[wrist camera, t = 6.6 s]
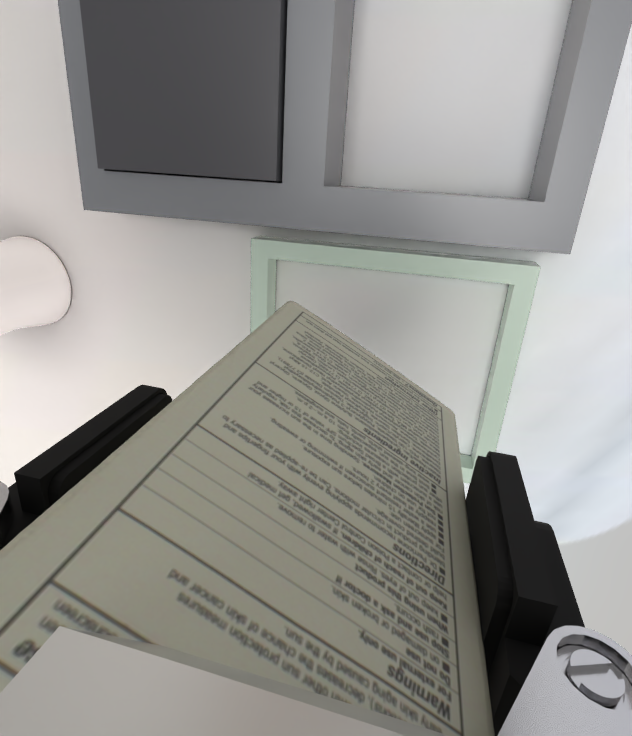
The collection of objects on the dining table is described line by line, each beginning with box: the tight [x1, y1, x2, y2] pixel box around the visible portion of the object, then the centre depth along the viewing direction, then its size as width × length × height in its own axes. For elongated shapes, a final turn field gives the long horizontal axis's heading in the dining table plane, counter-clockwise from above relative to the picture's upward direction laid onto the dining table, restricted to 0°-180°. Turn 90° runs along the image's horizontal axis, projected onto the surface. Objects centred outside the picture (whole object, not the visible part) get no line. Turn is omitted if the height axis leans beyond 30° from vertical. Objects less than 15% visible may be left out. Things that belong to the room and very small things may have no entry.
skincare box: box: [0, 301, 495, 736], centre depth 9 cm, size 6×4×12 cm
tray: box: [251, 236, 541, 483], centre depth 27 cm, size 13×15×2 cm
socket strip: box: [58, 0, 632, 254], centre depth 21 cm, size 13×24×5 cm, turn 87°
